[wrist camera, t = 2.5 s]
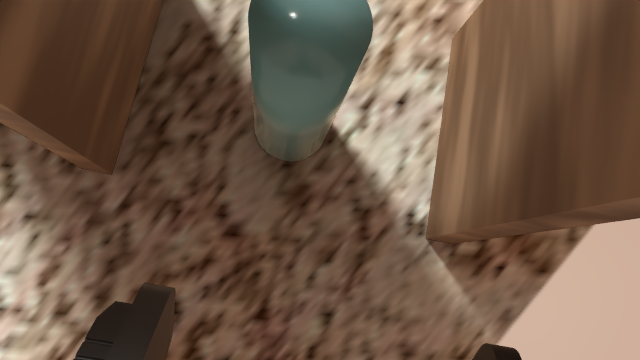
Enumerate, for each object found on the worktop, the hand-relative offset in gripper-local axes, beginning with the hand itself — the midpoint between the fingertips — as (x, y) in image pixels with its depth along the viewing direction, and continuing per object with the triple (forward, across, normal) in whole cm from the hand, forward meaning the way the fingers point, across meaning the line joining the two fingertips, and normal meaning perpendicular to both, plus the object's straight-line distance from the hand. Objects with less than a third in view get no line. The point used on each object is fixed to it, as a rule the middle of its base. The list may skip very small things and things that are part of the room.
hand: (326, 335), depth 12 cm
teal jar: (+22, +2, +5) cm, 22 cm away
